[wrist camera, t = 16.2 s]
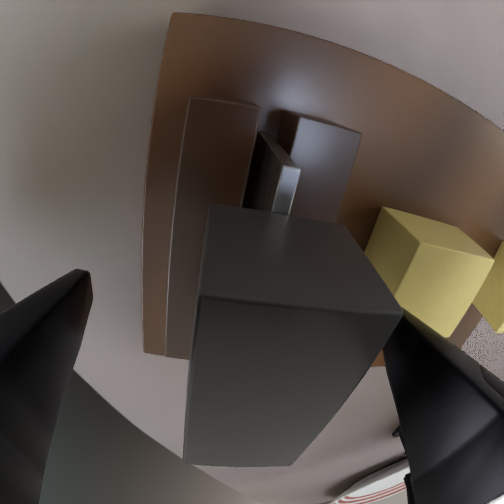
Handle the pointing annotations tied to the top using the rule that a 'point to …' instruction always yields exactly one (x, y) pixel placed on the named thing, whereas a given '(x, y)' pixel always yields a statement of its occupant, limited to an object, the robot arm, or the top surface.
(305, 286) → the dark grey block
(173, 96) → the cutting board
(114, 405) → the top surface
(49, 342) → the robot arm
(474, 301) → the butter slice
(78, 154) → the top surface
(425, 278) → the butter stick
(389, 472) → the dinner plate
